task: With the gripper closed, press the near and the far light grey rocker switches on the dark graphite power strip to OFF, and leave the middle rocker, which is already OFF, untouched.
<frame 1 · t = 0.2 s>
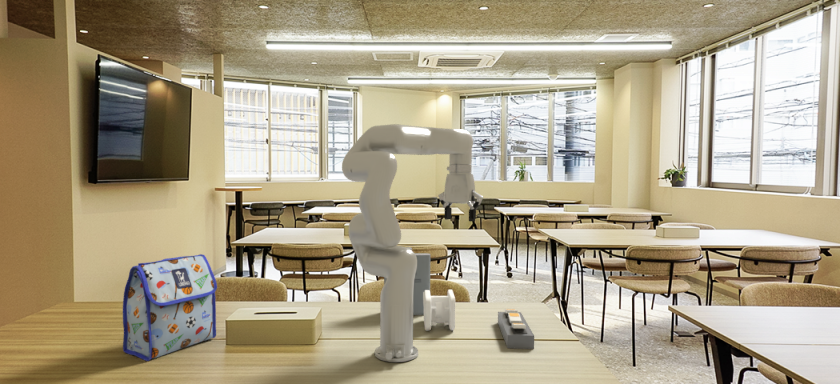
hand: (459, 220, 165), 37 cm above the table, tool pointing down, fingers open, 9 cm apart
middle rocker: (514, 318, 159), point 6 cm above the table, hinge at -12.0°
cable organizer: (438, 327, 167), on the table
far rocker: (511, 311, 167), point 6 cm above the table, hinge at 12.0°
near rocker: (518, 325, 151), point 6 cm above the table, hinge at 12.0°
blue-grey tall flat block: (406, 313, 183), on the table
power strip: (514, 334, 159), on the table
lunch bag: (171, 347, 146), on the table
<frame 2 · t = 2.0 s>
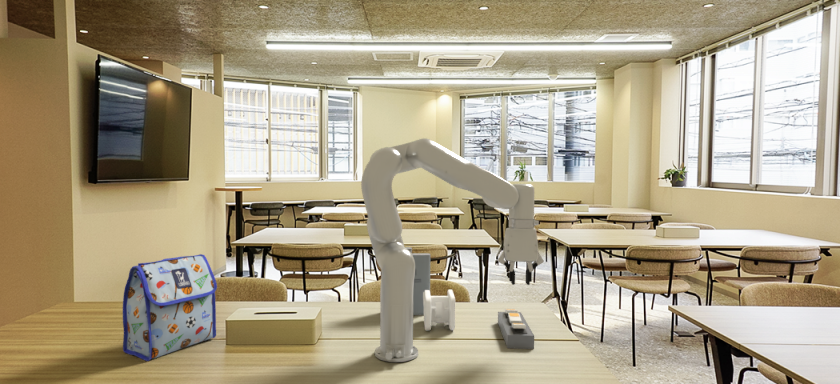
hand: (520, 283, 149), 19 cm above the table, tool pointing down, fingers open, 3 cm apart
nothing on the table moved.
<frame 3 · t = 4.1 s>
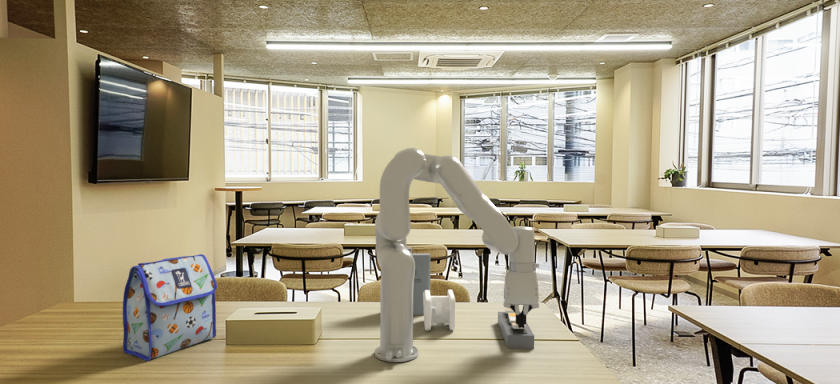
hand: (520, 326, 149), 6 cm above the table, tool pointing down, fingers closed
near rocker: (518, 325, 151), point 6 cm above the table, hinge at 9.4°, touching gripper
everything else where it was.
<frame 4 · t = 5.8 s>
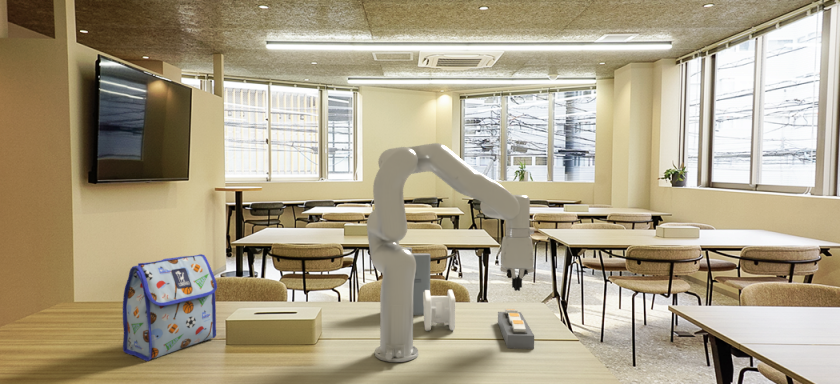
hand: (516, 289, 157), 15 cm above the table, tool pointing down, fingers closed
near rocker: (518, 325, 151), point 6 cm above the table, hinge at -14.7°
everything else where it was.
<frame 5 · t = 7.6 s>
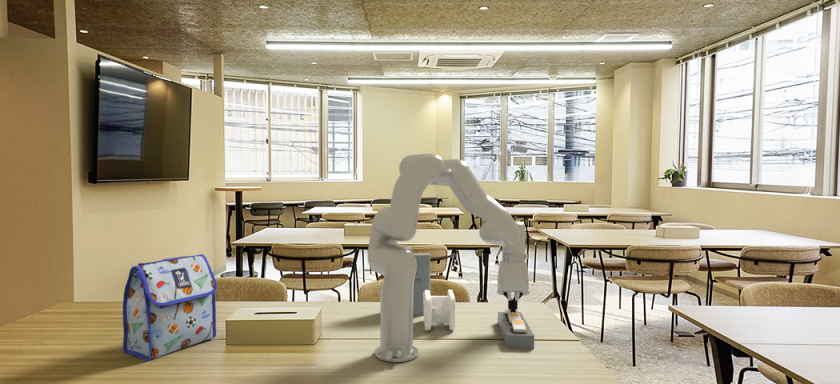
hand: (512, 311, 165), 6 cm above the table, tool pointing down, fingers closed
far rocker: (511, 311, 167), point 6 cm above the table, hinge at 11.2°, touching gripper
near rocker: (518, 325, 151), point 6 cm above the table, hinge at -16.1°
everything else where it was.
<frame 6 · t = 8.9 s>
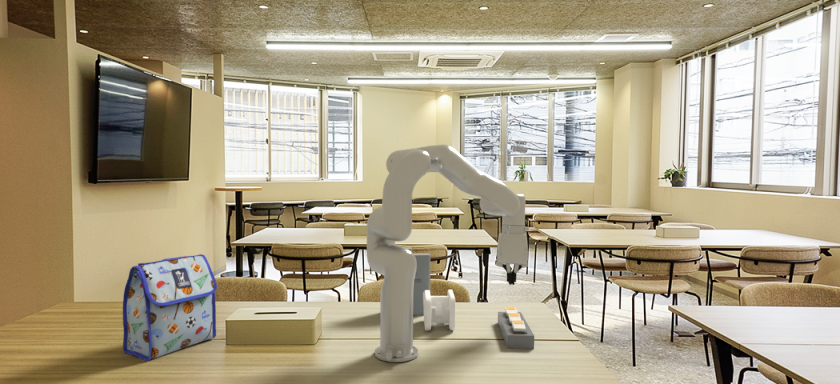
hand: (511, 283, 165), 16 cm above the table, tool pointing down, fingers closed
far rocker: (511, 311, 167), point 6 cm above the table, hinge at -8.6°
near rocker: (518, 325, 151), point 6 cm above the table, hinge at -11.2°
everything else where it was.
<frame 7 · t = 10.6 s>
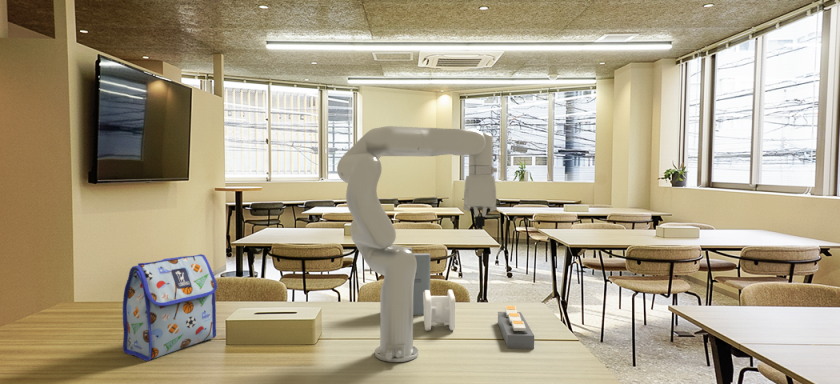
hand: (479, 228, 156), 35 cm above the table, tool pointing down, fingers closed
far rocker: (511, 311, 167), point 6 cm above the table, hinge at -19.9°, touching power strip
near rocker: (518, 325, 151), point 6 cm above the table, hinge at -7.1°
everything else where it was.
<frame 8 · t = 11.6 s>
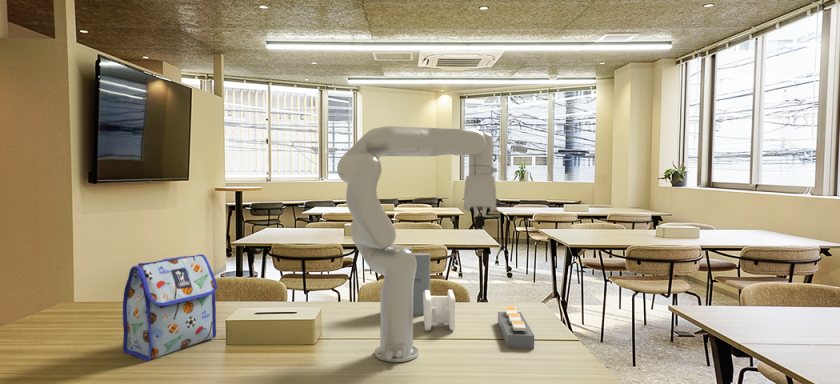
hand: (479, 228, 156), 35 cm above the table, tool pointing down, fingers closed
far rocker: (511, 311, 167), point 6 cm above the table, hinge at -15.4°
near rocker: (518, 325, 151), point 6 cm above the table, hinge at -5.5°
everything else where it was.
at the end: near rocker at -5° (first picture: +12°); far rocker at -15° (first picture: +12°); middle rocker at -12° (first picture: -12°) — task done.
